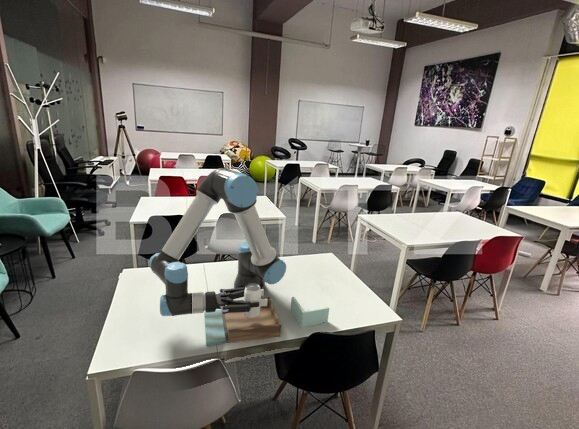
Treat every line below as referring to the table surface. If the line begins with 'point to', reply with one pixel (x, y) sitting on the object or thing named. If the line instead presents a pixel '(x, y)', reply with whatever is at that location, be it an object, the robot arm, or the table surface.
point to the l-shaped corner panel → (308, 314)
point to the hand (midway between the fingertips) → (265, 297)
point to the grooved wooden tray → (241, 325)
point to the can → (252, 293)
